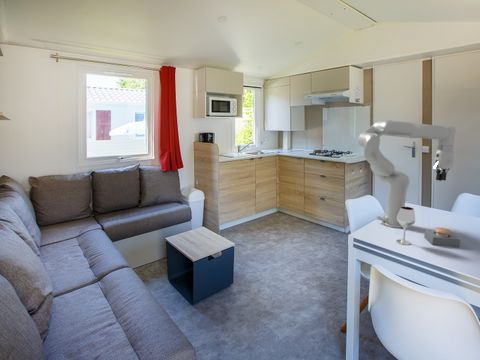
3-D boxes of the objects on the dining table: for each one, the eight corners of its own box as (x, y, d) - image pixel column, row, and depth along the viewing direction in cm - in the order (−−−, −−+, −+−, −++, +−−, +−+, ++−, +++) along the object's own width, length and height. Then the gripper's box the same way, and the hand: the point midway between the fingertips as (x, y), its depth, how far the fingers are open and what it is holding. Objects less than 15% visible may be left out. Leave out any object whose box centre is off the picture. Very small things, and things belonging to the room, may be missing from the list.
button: (436, 241, 148) (438, 231, 147) (431, 236, 154) (432, 227, 153) (452, 242, 146) (453, 232, 145) (445, 237, 153) (447, 228, 152)
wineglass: (390, 239, 154) (394, 206, 150) (405, 239, 154) (409, 205, 151) (400, 245, 146) (404, 210, 142) (416, 245, 146) (420, 210, 143)
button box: (432, 244, 147) (433, 237, 146) (424, 237, 157) (425, 230, 156) (459, 247, 145) (460, 239, 144) (449, 239, 154) (450, 232, 153)
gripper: (440, 149, 162) (436, 182, 165) (461, 148, 166) (457, 180, 170) (428, 148, 169) (424, 179, 172) (449, 147, 173) (444, 178, 177)
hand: (440, 179), depth 171 cm, fingers closed
